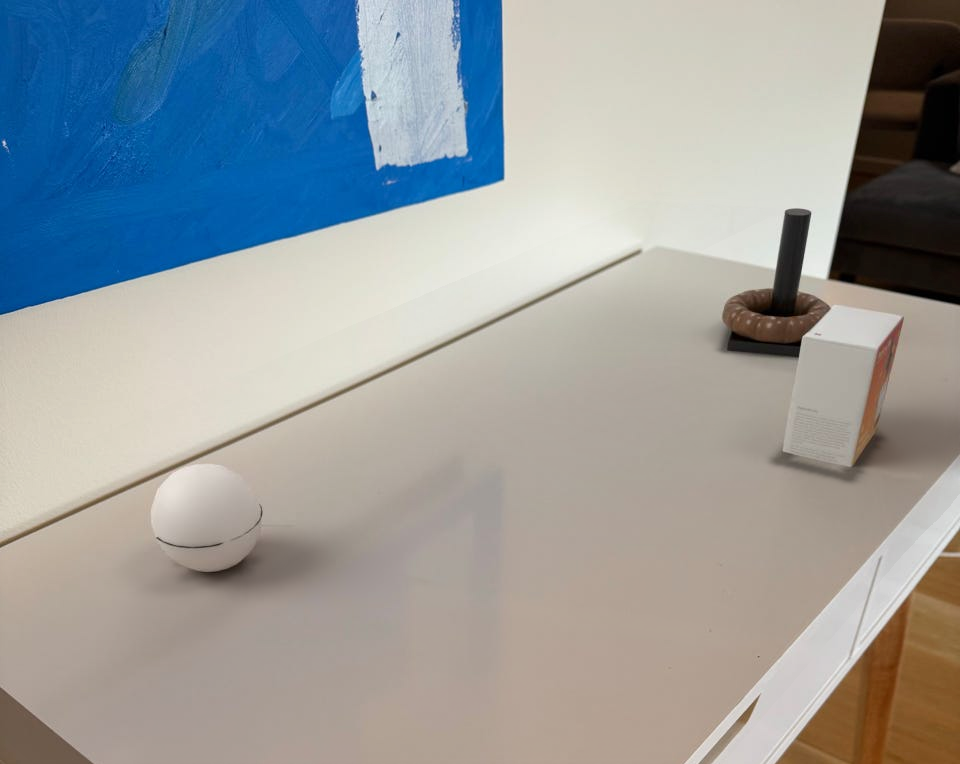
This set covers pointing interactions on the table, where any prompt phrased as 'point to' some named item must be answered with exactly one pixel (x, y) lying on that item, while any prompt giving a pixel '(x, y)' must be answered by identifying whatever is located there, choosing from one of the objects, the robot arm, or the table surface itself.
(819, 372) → the small box
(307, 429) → the table surface
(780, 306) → the stand
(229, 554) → the seamed sphere
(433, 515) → the table surface
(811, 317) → the brown ribbed ring
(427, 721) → the table surface
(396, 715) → the table surface
